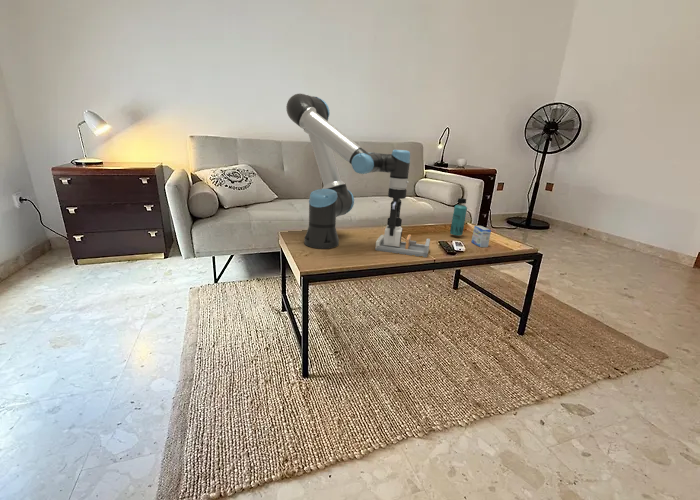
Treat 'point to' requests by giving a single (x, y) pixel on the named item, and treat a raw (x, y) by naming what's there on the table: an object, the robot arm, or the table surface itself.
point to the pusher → (409, 242)
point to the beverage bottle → (458, 218)
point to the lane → (412, 250)
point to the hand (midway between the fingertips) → (392, 240)
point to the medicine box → (481, 236)
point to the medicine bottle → (397, 234)
